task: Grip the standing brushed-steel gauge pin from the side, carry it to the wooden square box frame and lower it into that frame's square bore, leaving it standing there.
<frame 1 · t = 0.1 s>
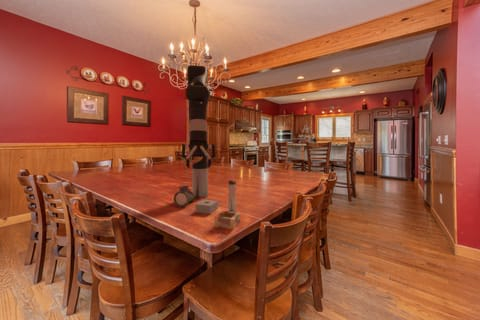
hand: (198, 168, 92), 22 cm above the table, fingers open, 8 cm apart
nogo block: (206, 210, 104), on the table
gauge pin: (232, 215, 98), on the table
wooden square box frame: (227, 224, 88), on the table
pipe fitting: (185, 204, 115), on the table
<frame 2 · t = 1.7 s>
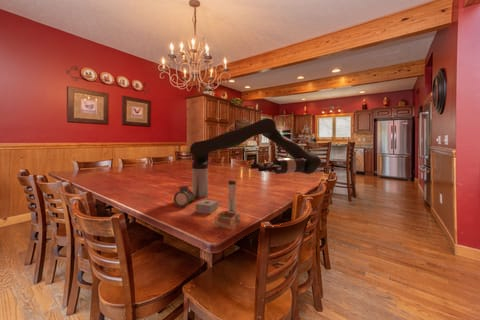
hand: (254, 167, 99), 22 cm above the table, fingers open, 8 cm apart
nothing on the table moved.
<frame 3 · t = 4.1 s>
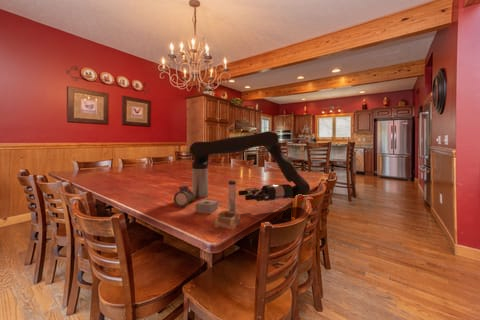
hand: (242, 195, 99), 9 cm above the table, fingers open, 8 cm apart
nothing on the table moved.
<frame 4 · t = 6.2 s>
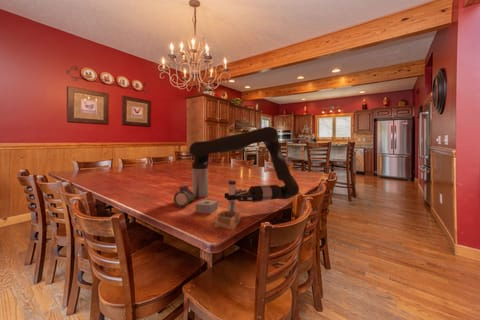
hand: (226, 196, 96), 9 cm above the table, fingers closed on gauge pin, 3 cm apart
gauge pin: (232, 215, 98), on the table, touching gripper
everything else where it was.
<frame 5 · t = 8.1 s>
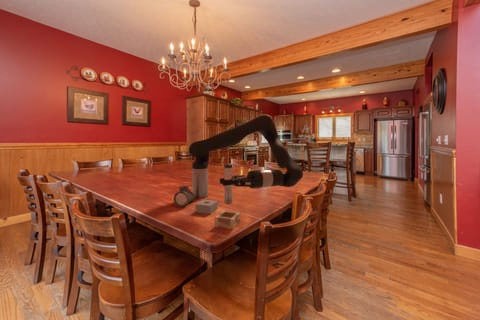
hand: (221, 182, 85), 18 cm above the table, fingers closed on gauge pin, 3 cm apart
gauge pin: (228, 203, 87), point 9 cm above the table, touching gripper
everything else where it was.
when the fingers open (10 cm above the table, at t = 10.2 s): gauge pin stays where it is, resting in wooden square box frame.
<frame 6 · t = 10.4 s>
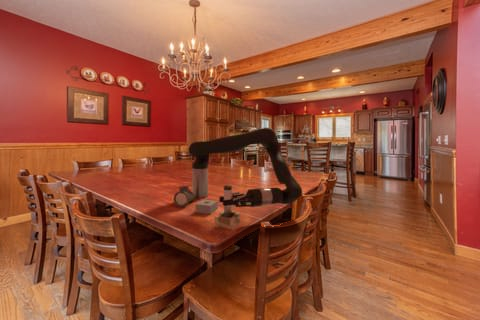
hand: (221, 201, 86), 10 cm above the table, fingers open, 4 cm apart
gauge pin: (228, 224, 88), resting in wooden square box frame
everything else where it was.
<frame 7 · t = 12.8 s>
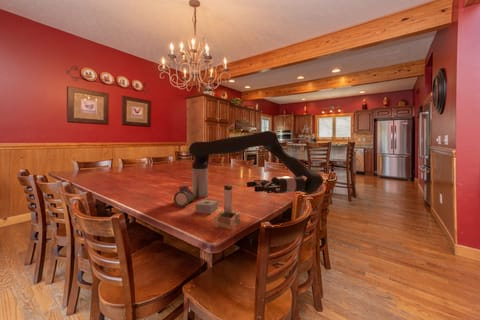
hand: (250, 186, 91), 15 cm above the table, fingers open, 8 cm apart
nothing on the table moved.
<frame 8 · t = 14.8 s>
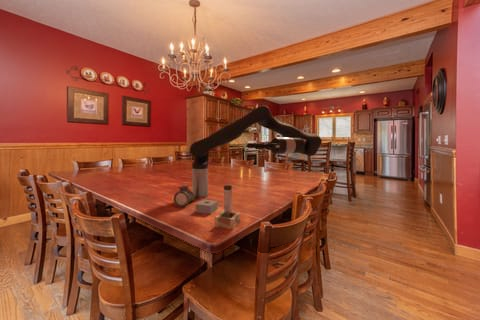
hand: (251, 146, 92), 32 cm above the table, fingers open, 8 cm apart
nothing on the table moved.
at the end: gauge pin 0.1 cm off-centre on the wooden square box frame, point 0.0 cm above the wooden square box frame's base; gauge pin tilted 0°; the gripper is holding nothing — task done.
